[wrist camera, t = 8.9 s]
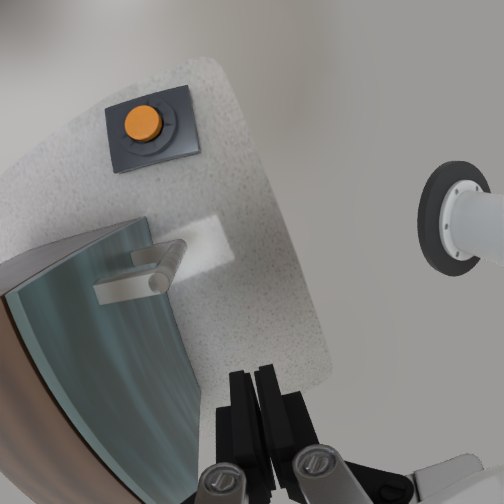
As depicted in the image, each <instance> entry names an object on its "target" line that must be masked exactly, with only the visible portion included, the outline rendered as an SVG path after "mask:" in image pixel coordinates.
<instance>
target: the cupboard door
mask: <svg viewBox="0 0 504 504" xmlns="http://www.w3.org/2000/svg"><path fill="white" fill-rule="evenodd" d="M186 250H187V244H186V242H185V241H184V240H182V239H177V240H173V241H168V242H164V243H159V244H155V245H153V244H152V240H151V236H150V232H149V227H148V223H147V219H146V217H143V218H139V219H137V220H135V221H133V222H131V223H129V224H127V225H125V226H123V227H121V228H119V229H117V230H115V231H113V232H111V233H109V234H107V235H105V236H103V237H101V238H100V239H98V240H96V241H94V242H92V243H90V244H88V245H87V246H85V247H83V248H81V249H79V250H78V251H76V252H74V253H72V254H70V255H69V256H67V257H65V258H63V259H62V260H60V261H58V262H56V263H55V264H53V265H51V266H50V267H48V268H46V269H45V270H43V271H41V272H40V273H38V274H36V275H35V276H33V277H32V278H30V279H28V280H27V281H25V282H24V283H22V284H20V285H19V286H17V287H16V288H14V289H13V290H11V291H10V292H8V293H7V294H6V295H5V297H6V300H7V303H8V305H9V308H10V310H11V313H12V315H13V318H14V320H15V322H16V325H17V327H18V329H19V331H20V334H21V336H22V338H23V340H24V342H25V344H26V346H27V348H28V350H29V352H30V354H31V356H32V358H33V360H34V362H35V364H36V366H37V367H38V369H39V371H40V373H41V375H42V376H43V378H44V380H45V381H46V383H47V385H48V386H49V388H50V390H51V391H52V393H53V395H54V396H55V398H56V399H57V401H58V402H59V404H60V405H61V407H62V408H63V410H64V411H65V413H66V414H67V416H68V417H69V418H70V420H71V421H72V423H73V424H74V425H75V427H76V428H77V429H78V431H79V432H80V433H81V435H82V436H83V437H84V438H85V440H86V441H87V442H88V443H89V445H90V446H91V447H92V448H93V449H94V451H95V452H96V453H97V454H98V455H99V457H100V458H101V459H102V460H103V461H104V462H105V463H106V464H107V466H108V467H109V468H110V469H111V470H112V471H113V472H114V473H115V474H116V475H117V476H118V477H119V478H120V479H121V480H122V481H123V482H124V483H125V484H126V485H127V486H128V487H129V488H130V489H131V490H132V491H133V492H134V493H135V494H136V495H137V496H138V497H139V498H140V499H142V500H143V501H144V502H145V503H146V504H180V503H182V502H183V501H184V500H186V499H187V498H188V497H189V496H191V495H192V494H193V493H194V492H196V491H197V488H198V452H199V422H200V399H201V391H200V389H199V386H198V383H197V381H196V378H195V376H194V373H193V370H192V368H191V365H190V362H189V360H188V357H187V354H186V351H185V349H184V346H183V343H182V340H181V337H180V334H179V331H178V328H177V325H176V322H175V319H174V316H173V313H172V310H171V307H170V304H169V300H168V297H167V294H166V291H167V290H168V289H169V287H170V284H171V282H172V280H173V278H174V276H175V273H176V271H177V269H178V267H179V265H180V263H181V260H182V258H183V256H184V254H185V252H186ZM157 262H159V263H157Z"/></svg>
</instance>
